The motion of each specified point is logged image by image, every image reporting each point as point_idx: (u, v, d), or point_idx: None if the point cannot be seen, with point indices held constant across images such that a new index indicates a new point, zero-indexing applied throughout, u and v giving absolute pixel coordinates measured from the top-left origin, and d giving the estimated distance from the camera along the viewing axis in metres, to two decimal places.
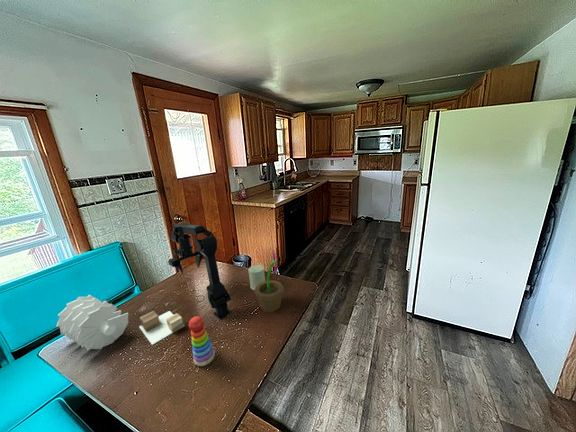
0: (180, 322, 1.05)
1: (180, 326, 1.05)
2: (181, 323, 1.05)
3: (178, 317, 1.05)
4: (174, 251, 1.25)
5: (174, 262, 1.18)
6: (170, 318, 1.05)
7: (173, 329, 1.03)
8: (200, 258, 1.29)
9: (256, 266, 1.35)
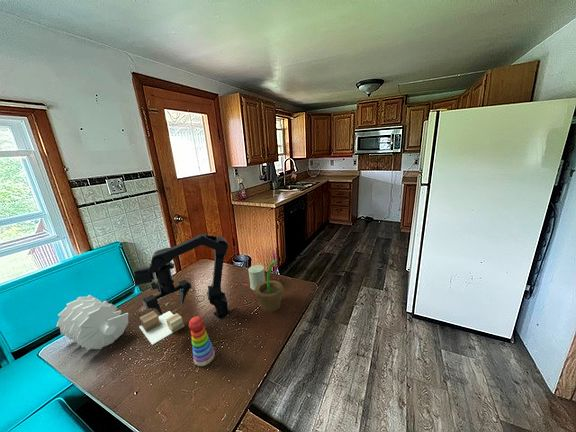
0: (180, 322, 1.05)
1: (180, 326, 1.05)
2: (181, 323, 1.05)
3: (178, 317, 1.05)
4: (151, 286, 1.01)
5: (149, 302, 0.93)
6: (170, 318, 1.05)
7: (173, 329, 1.03)
8: (184, 293, 1.04)
9: (256, 266, 1.35)
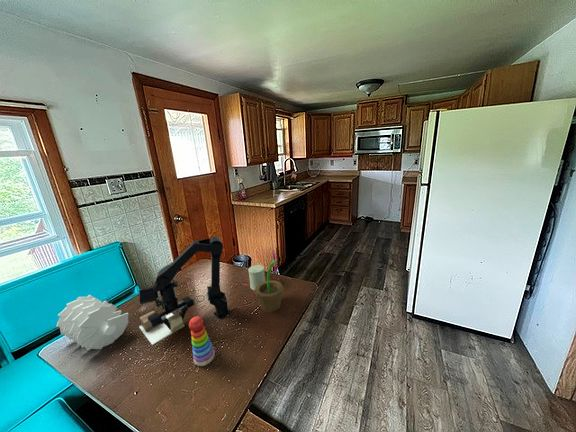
0: (180, 322, 1.05)
1: (180, 326, 1.05)
2: (181, 323, 1.05)
3: (178, 317, 1.05)
4: (155, 303, 1.03)
5: (154, 321, 0.96)
6: (170, 318, 1.05)
7: (173, 329, 1.03)
8: (183, 312, 1.05)
9: (256, 266, 1.35)
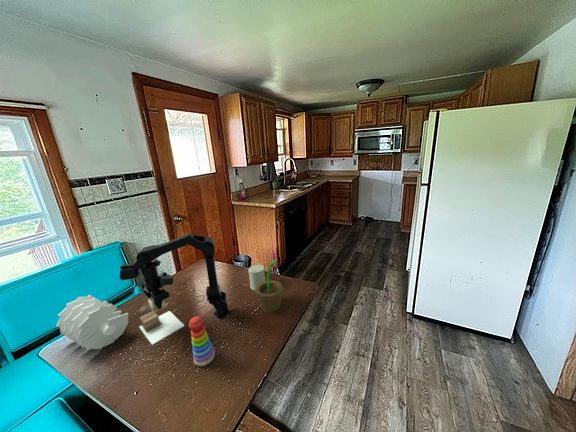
0: (152, 306, 1.00)
1: (152, 309, 1.01)
2: (152, 308, 1.01)
3: None
4: (161, 274, 1.07)
5: (140, 284, 1.05)
6: None
7: (149, 306, 1.03)
8: (151, 300, 0.98)
9: (256, 266, 1.35)
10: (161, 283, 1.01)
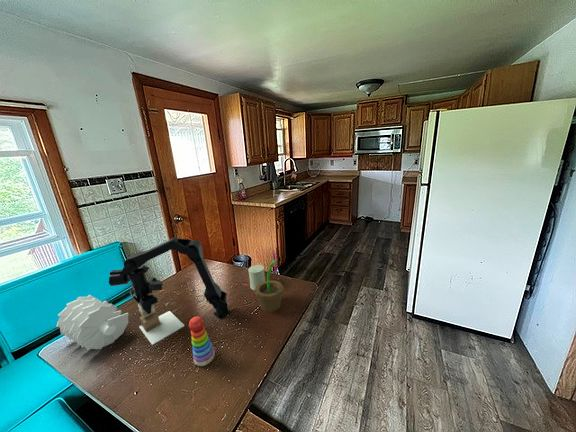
0: (141, 311, 1.03)
1: (142, 314, 1.04)
2: (142, 313, 1.03)
3: None
4: (150, 280, 1.09)
5: (130, 290, 1.07)
6: None
7: None
8: (140, 306, 1.00)
9: (256, 266, 1.35)
10: (150, 289, 1.03)
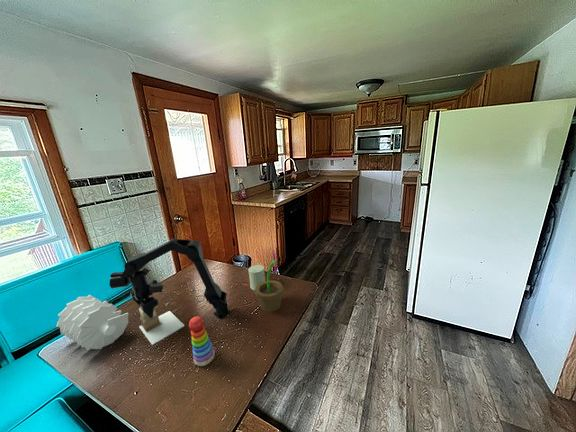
0: (142, 315, 1.03)
1: (143, 318, 1.04)
2: (143, 317, 1.03)
3: None
4: (151, 282, 1.10)
5: (130, 292, 1.07)
6: None
7: None
8: None
9: (256, 266, 1.35)
10: (150, 291, 1.03)
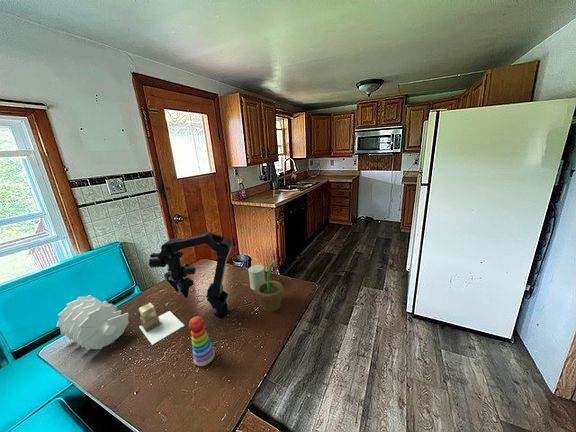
0: (142, 315, 1.03)
1: (143, 318, 1.04)
2: (143, 317, 1.03)
3: (144, 310, 1.04)
4: (183, 265, 1.15)
5: (164, 275, 1.12)
6: (148, 305, 1.07)
7: None
8: (179, 290, 1.04)
9: (256, 266, 1.35)
10: (185, 272, 1.08)
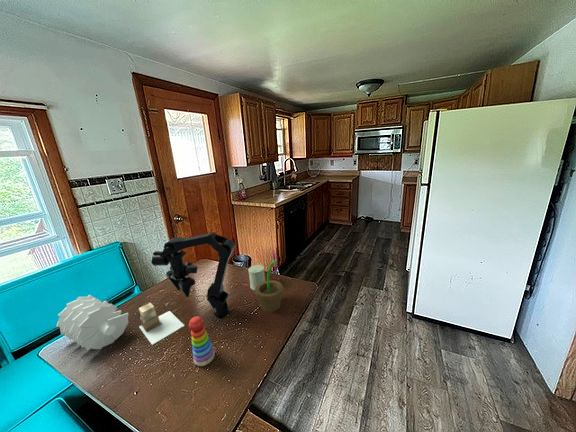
0: (142, 315, 1.03)
1: (143, 318, 1.04)
2: (143, 317, 1.03)
3: (144, 310, 1.04)
4: (185, 264, 1.15)
5: (167, 273, 1.13)
6: (148, 305, 1.07)
7: None
8: (180, 289, 1.05)
9: (256, 266, 1.35)
10: (187, 271, 1.09)
